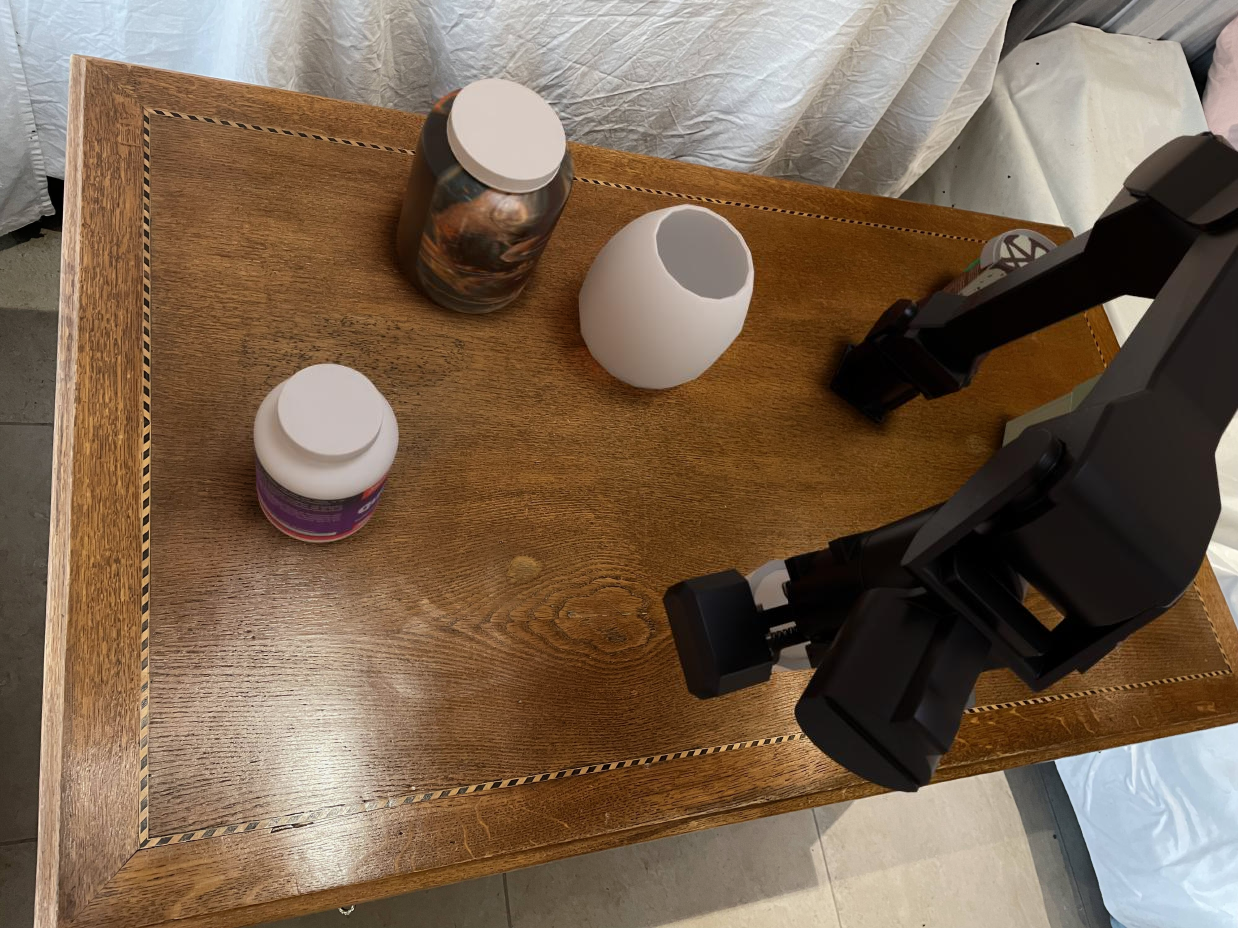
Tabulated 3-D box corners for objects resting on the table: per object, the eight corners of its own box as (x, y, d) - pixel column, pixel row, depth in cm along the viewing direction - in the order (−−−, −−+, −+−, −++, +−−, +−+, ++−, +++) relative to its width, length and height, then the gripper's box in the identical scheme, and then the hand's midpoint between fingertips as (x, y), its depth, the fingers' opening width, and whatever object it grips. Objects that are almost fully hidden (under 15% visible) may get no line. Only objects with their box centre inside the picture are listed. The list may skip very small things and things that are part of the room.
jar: (365, 218, 64) (388, 78, 51) (483, 178, 70) (529, 44, 57) (444, 334, 63) (488, 222, 50) (556, 284, 69) (621, 172, 56)
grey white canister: (790, 610, 56) (852, 591, 50) (760, 699, 53) (823, 691, 47) (711, 562, 55) (764, 537, 49) (676, 651, 52) (728, 635, 46)
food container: (1004, 294, 93) (1078, 246, 85) (1010, 338, 91) (1087, 293, 82) (921, 263, 89) (990, 208, 81) (924, 308, 87) (996, 256, 78)
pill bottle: (368, 554, 55) (396, 491, 43) (245, 537, 53) (235, 464, 40) (387, 448, 58) (417, 361, 46) (270, 427, 56) (269, 328, 43)
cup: (623, 431, 67) (696, 359, 55) (533, 307, 68) (587, 210, 56) (725, 366, 73) (809, 290, 62) (642, 254, 74) (710, 158, 63)
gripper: (814, 807, 33) (659, 795, 47) (1092, 691, 41) (891, 709, 55) (734, 553, 36) (610, 612, 49) (1010, 491, 44) (838, 556, 58)
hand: (747, 626), depth 53 cm, fingers closed on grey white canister, 6 cm apart
